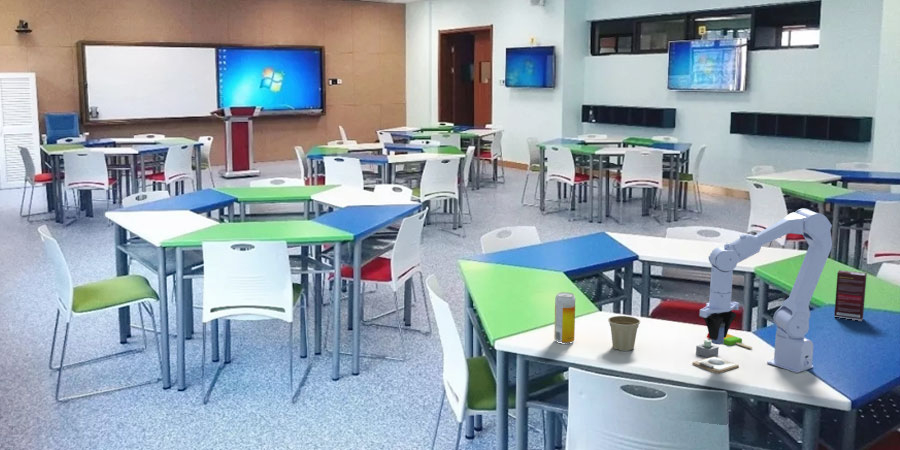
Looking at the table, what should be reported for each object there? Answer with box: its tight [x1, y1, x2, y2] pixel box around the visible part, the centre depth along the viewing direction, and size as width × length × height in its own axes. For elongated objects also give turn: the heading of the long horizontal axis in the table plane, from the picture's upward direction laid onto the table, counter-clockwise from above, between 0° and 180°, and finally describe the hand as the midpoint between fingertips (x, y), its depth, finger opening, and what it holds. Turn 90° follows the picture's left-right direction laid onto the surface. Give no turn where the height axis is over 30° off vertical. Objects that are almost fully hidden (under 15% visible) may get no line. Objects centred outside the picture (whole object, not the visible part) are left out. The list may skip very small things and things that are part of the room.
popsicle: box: [707, 332, 753, 350], centre depth 236 cm, size 6×15×2 cm, turn 30°
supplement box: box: [833, 269, 868, 322], centre depth 258 cm, size 9×5×16 cm, turn 58°
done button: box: [703, 339, 712, 349], centre depth 225 cm, size 2×2×2 cm
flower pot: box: [607, 315, 641, 352], centre depth 231 cm, size 9×9×9 cm
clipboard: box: [691, 356, 740, 374], centre depth 216 cm, size 9×9×1 cm
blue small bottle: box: [710, 321, 725, 345], centre depth 215 cm, size 3×3×6 cm
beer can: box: [553, 291, 576, 343], centre depth 236 cm, size 6×6×15 cm
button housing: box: [695, 343, 720, 358], centre depth 225 cm, size 4×4×2 cm
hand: (717, 337), depth 216 cm, fingers closed on blue small bottle, 3 cm apart
